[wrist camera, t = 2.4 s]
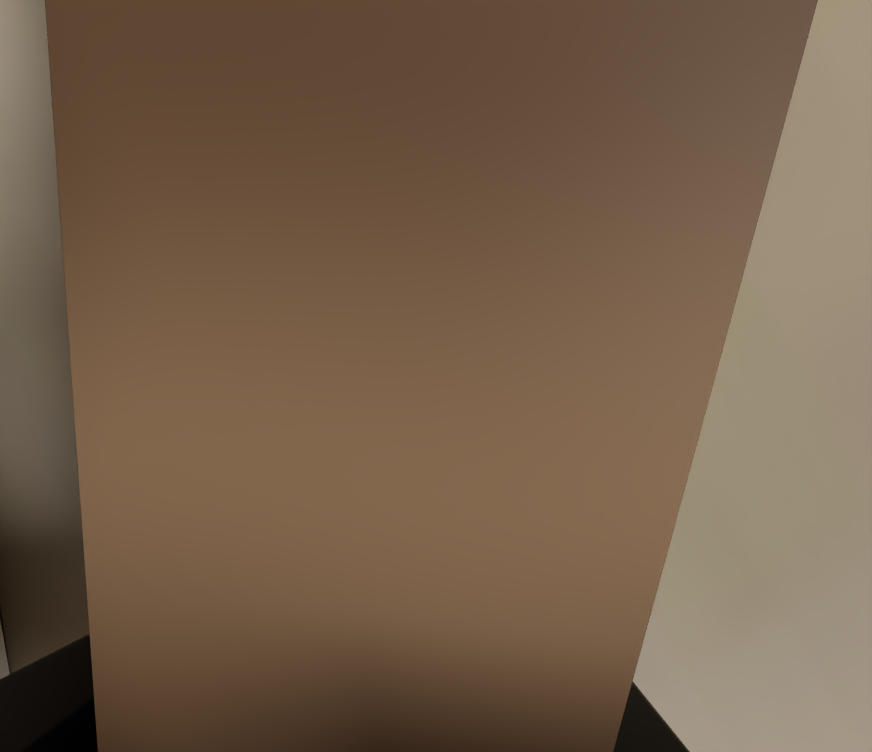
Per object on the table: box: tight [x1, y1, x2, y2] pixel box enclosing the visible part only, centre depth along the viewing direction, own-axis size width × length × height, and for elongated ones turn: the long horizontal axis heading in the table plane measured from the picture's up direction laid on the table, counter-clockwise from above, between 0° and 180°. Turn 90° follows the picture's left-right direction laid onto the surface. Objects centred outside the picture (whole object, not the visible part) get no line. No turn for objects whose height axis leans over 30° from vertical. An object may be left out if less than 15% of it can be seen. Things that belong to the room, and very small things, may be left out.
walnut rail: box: [45, 0, 818, 752], centre depth 7 cm, size 22×4×5 cm, turn 173°
